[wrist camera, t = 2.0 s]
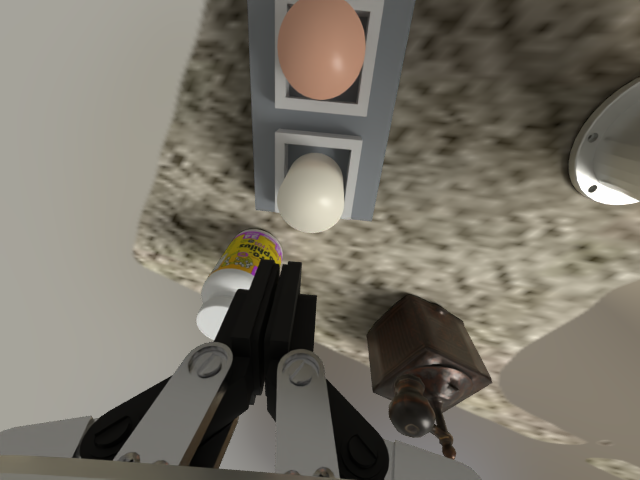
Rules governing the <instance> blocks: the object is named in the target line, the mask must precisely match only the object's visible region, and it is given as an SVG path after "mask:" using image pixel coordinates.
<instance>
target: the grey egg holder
mask: <svg viewBox="0 0 640 480" xmlns="http://www.w3.org/2000/svg"><path fill="white" fill-rule="evenodd" d="M297 1H299V0H247V5H248V30H249V55H250V80H251V105H252V130H253V156H254V181H255V206H256V210H261V211H271V212H277V213H280V212H279V210H278V206H277V195H278V191H279V188H280V186H281V184H282V182H283V181H284V179H285V177H286V175H287V173H288V171H289V169H290V167H291V165H292V164H293V163H294V162H295V160H296V159H298V158H299V157H301V156H302V155H305V154H308V153H321V154H324V155H327V156H329V157H330V158H332V159H333V160H334V161H335V162H336V163H337V164H338V166H339V167H340V169H341V172H342V176H343V189H344V210H343V213H342V215H341V217H340V219H349V220H351V219H354V220H364V221H372V217H373V212H374V207H375V202H376V197H377V192H378V187H379V182H380V177H381V172H382V167H383V162H384V157H385V152H386V147H387V142H388V136H389V131H390V126H391V121H392V116H393V111H394V106H395V101H396V96H397V91H398V86H399V81H400V76H401V71H402V66H403V61H404V56H405V51H406V46H407V41H408V36H409V31H410V26H411V21H412V16H413V11H414V5H415V0H345V1H346V2H347V3H349V5H350V6H351V7H352V8H353V9H354V10H355V12H356V13H357V15H358V17H359V19H360V21H361V23H362V26H363V30H364V34H365V44H366V49H365V57H364V62H363V65H362V68H361V71H360V73H359V75H358V77H357V78H356V80H355V81H354V83H353V84H352V85H351V86H350V87H349V88H348V89H347V90H346V91H345V92H343V93H342V94H340V95H339V96H336V97H334V98H331V99H325V100H317V99H312V98H309V97H306V96H304V95H302V94H301V93H299V92H298V91H297V90H295V89H294V88H293V87H292V86H291V84H290V83H289V82H288V80H287V79H286V77H285V75H284V74H283V71H282V69H281V66H280V63H279V58H278V49H277V44H278V35H279V30H280V27H281V24H282V22H283V19H284V17H285V16H286V14H287V12H288V11H289V10H290V8H291V7H292V6H293V5H294V4H295V3H296V2H297Z"/></svg>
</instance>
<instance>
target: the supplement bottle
mask: <svg viewBox="0 0 640 480" xmlns="http://www.w3.org/2000/svg"><path fill="white" fill-rule="evenodd" d="M282 255H283V253H282V248H281V245H280V243H279V242H278V240H277V239H276V238H275V237H274V236H272V235H271V234H269V233H268V232H265V231H263V230H258V229H250V230H245V231H243V232H241V233H239V234H238V235H237V236H236V237H235V238H234V239H233V241H232V242H231V244H230V245H229V246H228V248H227V249H226V251H225V252H224V254H223V255H222V257H221V258H220V260H219V261H218V263H217V265H216V266H215V268H214V269H213V271H212V272H211V274H210V275H209V276H208V278H207V280H206V281H205V283H204V285H203V287H202V292H201V296H202V301H203V305H202V307H201V309H200V311H199V312H198V314H197V317H196V322H197V326H198V328H199V329H200V331H201V332H202V333H203V334H204V335H206V336H207V337H208V338H210V339H212V340H215V337H216V335H217V333H218V331H219V329H220V326H221V324H222V322H223V320H224V317H225V315H226V313H227V311H228V308H229V306H230V304H231V302H232V300H233V297H234V295H235V293H236V291H237V290H238V289H247V290H249V288H250V286H251V283H252V281H253V278H254V275H255V273H256V270H257V268H258V265H259V263H260V260H261V259H268V260H275V264H279V265H280V264H281V261H282Z"/></svg>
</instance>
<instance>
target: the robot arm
mask: <svg viewBox="0 0 640 480" xmlns="http://www.w3.org/2000/svg"><path fill="white" fill-rule="evenodd" d="M569 175H570V179H571V182H572V184H573V185H574V187H575V188H576V190H577V191H578V192H580V193H581V194H582V195H583V196H585V197H587V198H589V199H591V200H593V201H595V202H599V203H602V204H608V205H625V204H631V203H636V202H640V77H638V78H636V79H634V80H633V81H631V82H630V83H628V84H626V85H625V86H623V87H621V88H620V89H619V90H617V91H616V92H615V93H614V94H612V95H611V96H610V97H609V98H607V99H606V100H605V101H604V102H603V103H602V104H601V105H600V106H599V107H598V108H597V109H596V110H595V111H594V112H593V113H592V115H591V116H590V117H589V119H588V120H587V121H586V122H585V124H584V125H583V127H582V128H581V130H580V132H579V134H578V135H577V137H576V139H575V141H574V144H573V147H572V149H571V153H570V158H569ZM301 268H302V262H291V261H289V262H288V265H286V264H283V266H282V270H281V274H280V265H279V264H275V260H268V259H261V260H260V263H259V265H258V268H257V270H256V273H255V275H254V278H253V281H252V283H251V286H250V288H249V290H247V289H238V290H237V291H236V293H235V295H234V297H233V300H232V302H231V304H230V306H229V308H228V311H227V313H226V315H225V317H224V320H223V322H222V324H221V326H220V329H219V331H218V333H217V335H216V337H215V340H214V342H209V343H204V344H202V345H200V346H198V347H196V348H195V349H193V350H192V351H191V352H190V353H189V354H188V355H187V356H186V357H185V359H184V360H183V362H182V363H181V365H180V366H179V367H178V369H177V370H176V372H175V373H174V374H173V375H172V376H170V377H169V378H167V379H165V380H163V381H162V382H160V383H158V384H156V385H154V386H153V387H151V388H149V389H147V390H146V391H144V392H142V393H140V394H139V395H137V396H135V397H133V398H132V399H130V400H128V401H127V402H124V403H123V404H121V405H119V406H118V407H115V408H114V409H112V410H110V411H108V412H107V413H106V414H104V415H103V416H101V417H100V418H96V419H93V418H92V416H86V417H80V418H73V419H67V420H60V421H54V422H47V423H40V424H34V425H27V426H20V427H14V428H11V429H8V430H5V431H2V432H0V480H481V478H480V476H479V475H477V473H476V472H475V471H474V470H472V469H471V468H470V467H469V466H467V465H465V464H463V463H461V462H458V461H455V460H453V459H450V458H447V457H444V456H441V455H438V454H435V453H432V452H429V451H426V450H424V449H421V448H418V447H415V446H412V445H409V444H406V443H403V442H400V441H397V440H395V442H394V443H393V442H391V441H388V440H385V439H382V437H381V436H380V435H379V433H378V432H377V431H376V430H375V429H374V428H373V427H372V426H371V425H370V424H369V423H368V422H367V421H366V420H365V419H364V418H363V416H362V415H361V414H360V413H359V412H358V411H357V410H356V409H355V408H354V407H353V406H352V405H351V404H350V403H349V402H348V401H347V400H346V399H345V398H344V397H343V396H342V395H341V394H340V393H339V391H337V389H336V388H335V387H334V386H333V385H332V384H331V383H330V382H329V381H328V380H327V379H326V377H325V370H324V366H323V362H322V361H321V359H320V358H319V356H317V355H316V354H315V353H314V352H313V348H314V332H315V317H316V301H317V295H306V294H300V284H301ZM264 382H265V394H266V396H267V410H268V412H269V413H270V415H271V416H272V418H273V419H274V420H275V422H276V452H275V473H265V472H254V471H253V472H252V471H240V470H228V469H219V467H220V464H221V461H222V459H223V457H224V454H225V452H226V450H227V447H228V445H229V443H230V440H231V438H232V435H233V433H234V431H235V428H236V426H237V423H238V420H239V415H241V414H242V413H243V412H245V411H246V410H247V409H248V408H249V405H254V402H255V398H256V395H261V394H262V391H263V386H264Z"/></svg>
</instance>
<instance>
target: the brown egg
mask: <svg viewBox="0 0 640 480" xmlns="http://www.w3.org/2000/svg"><path fill="white" fill-rule="evenodd" d="M277 49H278V58H279V63H280V66H281V69H282V71H283V74H284V75H285V77H286V79H287V80H288V82H289V83H290V84H291V86H292V87H293V88H294V89H295V90H297V91H298V92H299V93H301V94H302V95H304V96H306V97H309V98H312V99H317V100H325V99H331V98H334V97H336V96H339V95H340V94H342V93H343V92H345V91H346V90H347V89H348V88H349V87H350V86H351V85H352V84H353V83H354V81H355V80H356V78H357V77H358V75H359V73H360V71H361V68H362V65H363V62H364V57H365V49H366V44H365V34H364V30H363V26H362V23H361V21H360V19H359V17H358V15H357V13H356V12H355V10H354V9H353V8H352V7H351V6H350V5H349V3H347V2H346V1H345V0H299V1H297V2H296V3H295V4H294V5H293V6H292V7H291V8H290V10H289V11H288V12H287V14H286V16H285V17H284V19H283V22H282V24H281V27H280V30H279V35H278V44H277Z"/></svg>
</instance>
